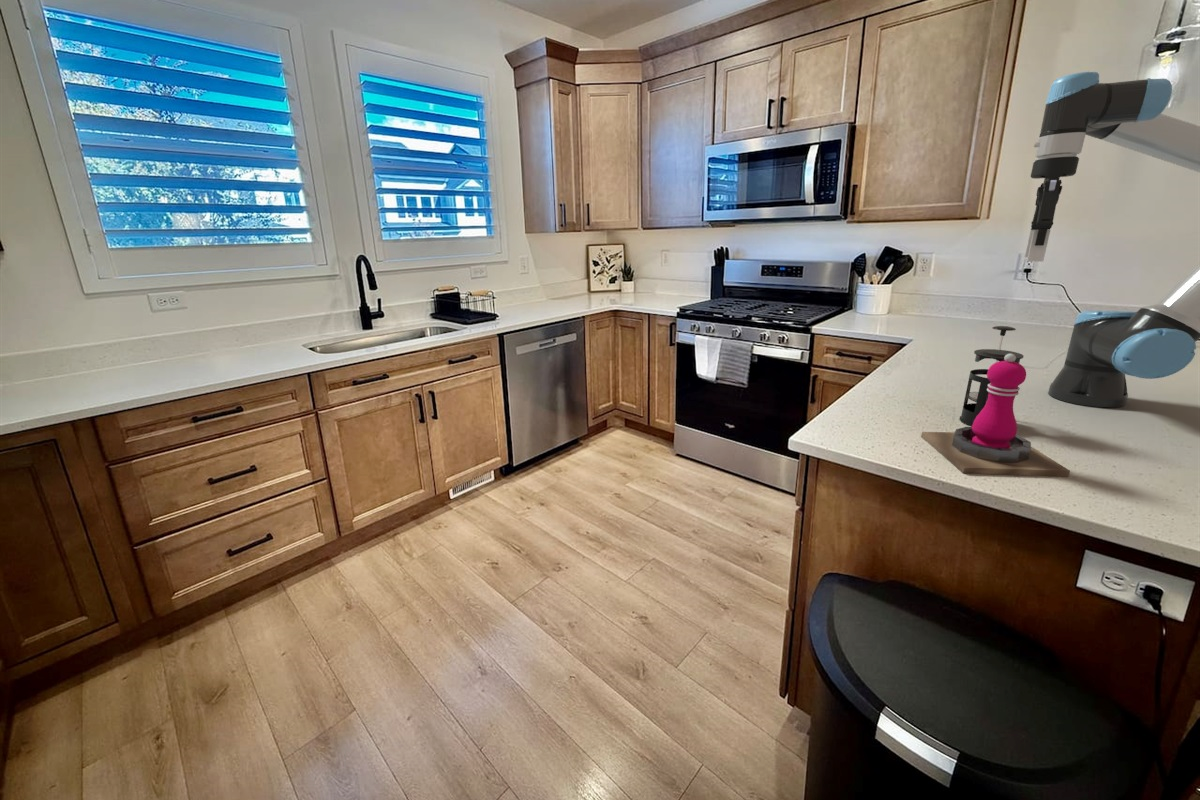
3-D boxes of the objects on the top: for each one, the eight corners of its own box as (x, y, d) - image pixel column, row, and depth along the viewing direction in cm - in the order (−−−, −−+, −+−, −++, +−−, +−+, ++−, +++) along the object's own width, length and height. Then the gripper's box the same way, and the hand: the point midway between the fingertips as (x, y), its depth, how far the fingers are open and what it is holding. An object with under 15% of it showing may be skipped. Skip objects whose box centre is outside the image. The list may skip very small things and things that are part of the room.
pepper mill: (959, 443, 108) (978, 350, 101) (991, 440, 108) (1012, 348, 102) (986, 457, 101) (1009, 359, 95) (1021, 455, 101) (1045, 357, 95)
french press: (997, 434, 115) (1021, 333, 107) (951, 422, 122) (970, 327, 114) (1017, 421, 121) (1040, 325, 114) (971, 411, 128) (990, 320, 121)
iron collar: (1004, 438, 109) (1007, 427, 109) (1043, 463, 98) (1046, 451, 97) (941, 436, 111) (943, 426, 110) (972, 461, 100) (974, 450, 99)
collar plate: (1009, 438, 112) (1010, 433, 112) (1068, 476, 95) (1070, 470, 95) (921, 436, 115) (922, 431, 114) (963, 473, 98) (964, 467, 97)
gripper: (1031, 163, 122) (1011, 255, 128) (1037, 154, 103) (1013, 263, 110) (1073, 160, 117) (1050, 255, 124) (1087, 150, 98) (1060, 263, 105)
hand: (1033, 259), depth 117 cm, fingers open, 13 cm apart
